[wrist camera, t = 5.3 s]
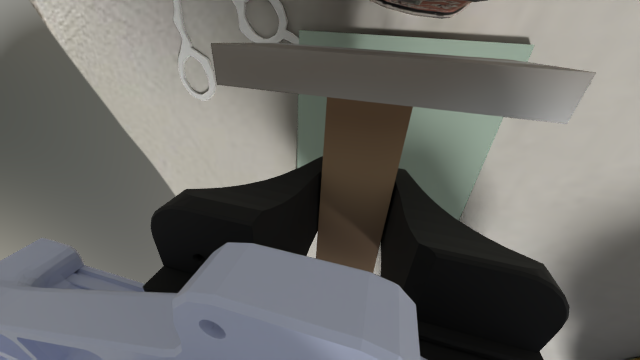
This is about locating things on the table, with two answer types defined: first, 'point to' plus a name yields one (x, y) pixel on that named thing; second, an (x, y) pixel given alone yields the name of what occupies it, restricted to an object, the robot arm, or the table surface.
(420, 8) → the lighter
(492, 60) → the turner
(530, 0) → the table surface
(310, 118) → the tool mat
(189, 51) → the scissors
